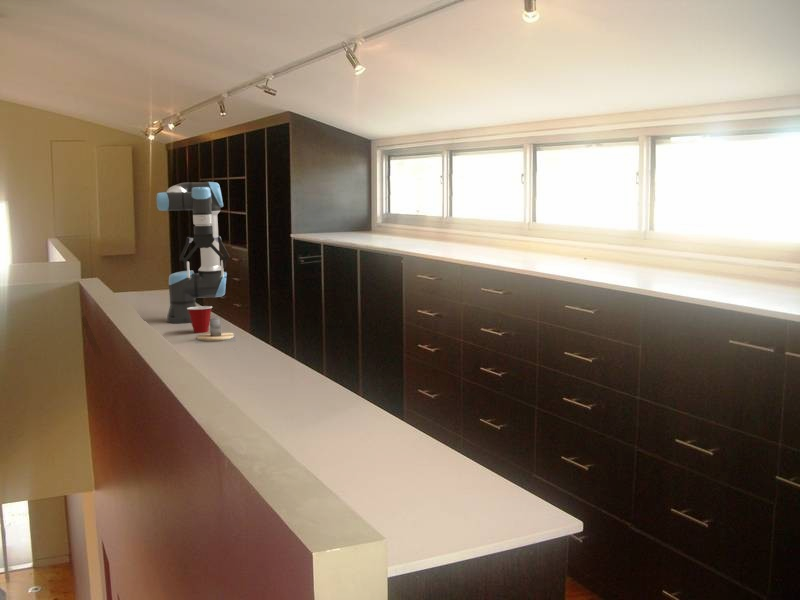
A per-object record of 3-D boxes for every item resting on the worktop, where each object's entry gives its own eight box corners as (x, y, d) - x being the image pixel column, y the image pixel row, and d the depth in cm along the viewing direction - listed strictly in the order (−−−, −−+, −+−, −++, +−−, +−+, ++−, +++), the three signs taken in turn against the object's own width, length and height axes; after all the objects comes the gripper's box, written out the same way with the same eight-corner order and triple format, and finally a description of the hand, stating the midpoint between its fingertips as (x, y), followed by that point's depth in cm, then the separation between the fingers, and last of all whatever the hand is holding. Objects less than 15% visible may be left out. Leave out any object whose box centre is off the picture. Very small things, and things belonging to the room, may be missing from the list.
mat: (197, 337, 339) (197, 334, 339) (236, 335, 342) (236, 332, 342) (195, 345, 323) (195, 343, 322) (235, 343, 325) (235, 341, 325)
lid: (198, 335, 338) (197, 316, 337) (234, 333, 341) (233, 315, 339) (196, 342, 323) (195, 323, 322) (234, 340, 326) (233, 321, 325)
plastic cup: (211, 330, 354) (210, 303, 352) (215, 334, 344) (214, 307, 342) (186, 332, 350) (185, 305, 348) (190, 337, 340) (188, 309, 338)
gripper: (170, 226, 319) (173, 279, 322) (233, 224, 323) (236, 276, 326) (172, 225, 326) (175, 276, 329) (234, 223, 330) (236, 274, 333)
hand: (205, 276), depth 328 cm, fingers open, 13 cm apart
